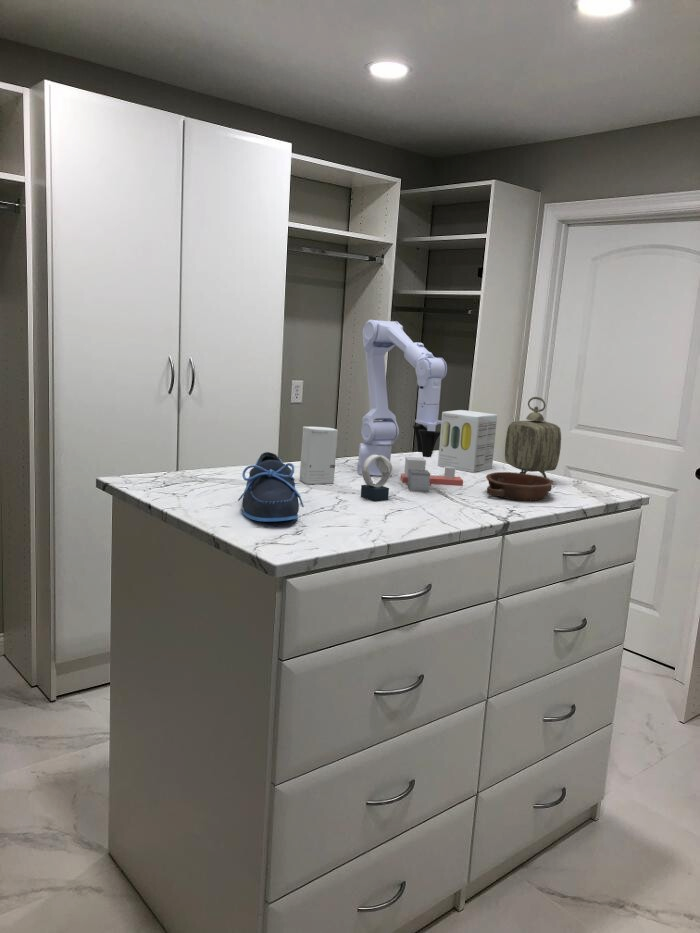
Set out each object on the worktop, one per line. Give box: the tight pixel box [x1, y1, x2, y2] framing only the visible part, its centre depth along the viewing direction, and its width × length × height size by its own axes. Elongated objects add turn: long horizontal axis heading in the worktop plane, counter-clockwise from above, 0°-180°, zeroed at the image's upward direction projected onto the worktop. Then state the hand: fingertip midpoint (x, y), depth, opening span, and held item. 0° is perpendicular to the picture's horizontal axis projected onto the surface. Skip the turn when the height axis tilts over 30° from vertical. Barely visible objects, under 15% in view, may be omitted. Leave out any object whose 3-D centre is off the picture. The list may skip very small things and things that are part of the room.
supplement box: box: [437, 409, 498, 473], centre depth 241 cm, size 13×13×18 cm
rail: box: [400, 456, 464, 487], centre depth 214 cm, size 17×5×6 cm, turn 94°
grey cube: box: [407, 469, 431, 493], centre depth 203 cm, size 5×5×5 cm
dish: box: [485, 471, 554, 502], centre depth 204 cm, size 18×22×5 cm
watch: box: [360, 455, 393, 503], centre depth 189 cm, size 6×8×11 cm
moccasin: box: [237, 451, 305, 523], centre depth 172 cm, size 14×34×12 cm, turn 15°
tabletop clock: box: [504, 396, 562, 480], centre depth 224 cm, size 14×9×25 cm, turn 31°
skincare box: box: [299, 426, 339, 485], centre depth 204 cm, size 8×6×15 cm
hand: (424, 454), depth 203 cm, fingers open, 7 cm apart
